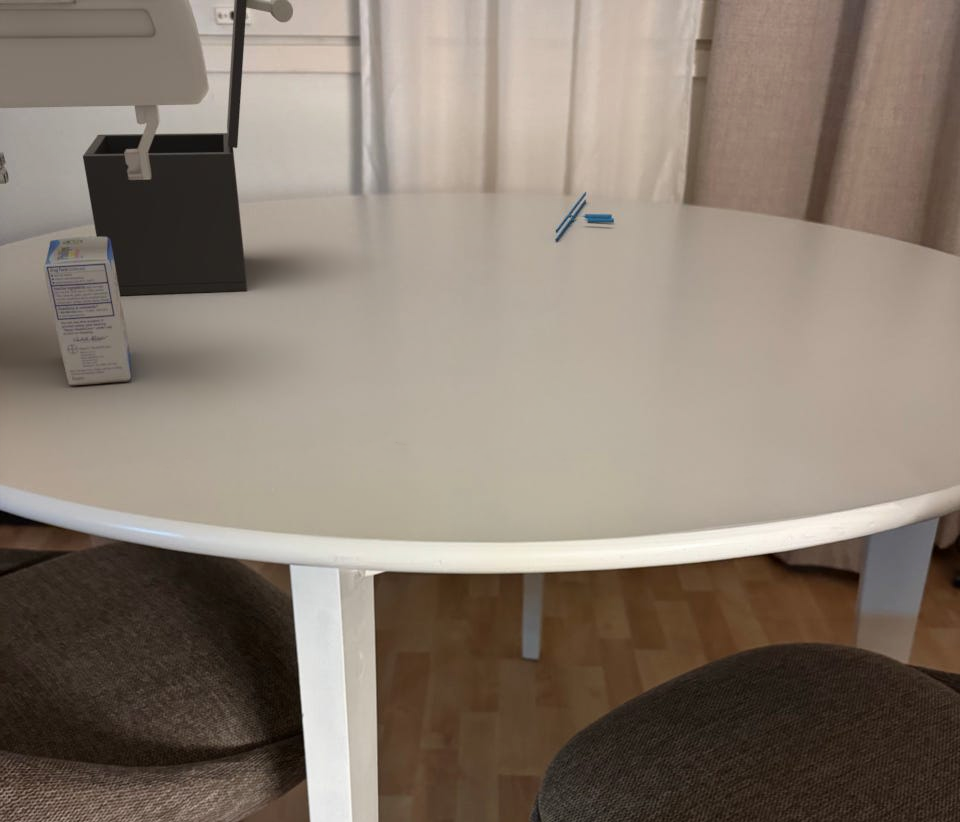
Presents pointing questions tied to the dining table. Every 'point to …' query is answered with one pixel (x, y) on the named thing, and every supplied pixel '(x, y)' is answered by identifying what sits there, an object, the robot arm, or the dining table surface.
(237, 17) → the lid
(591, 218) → the chopsticks
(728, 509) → the dining table surface
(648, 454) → the dining table surface
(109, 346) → the medicine box
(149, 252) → the box
